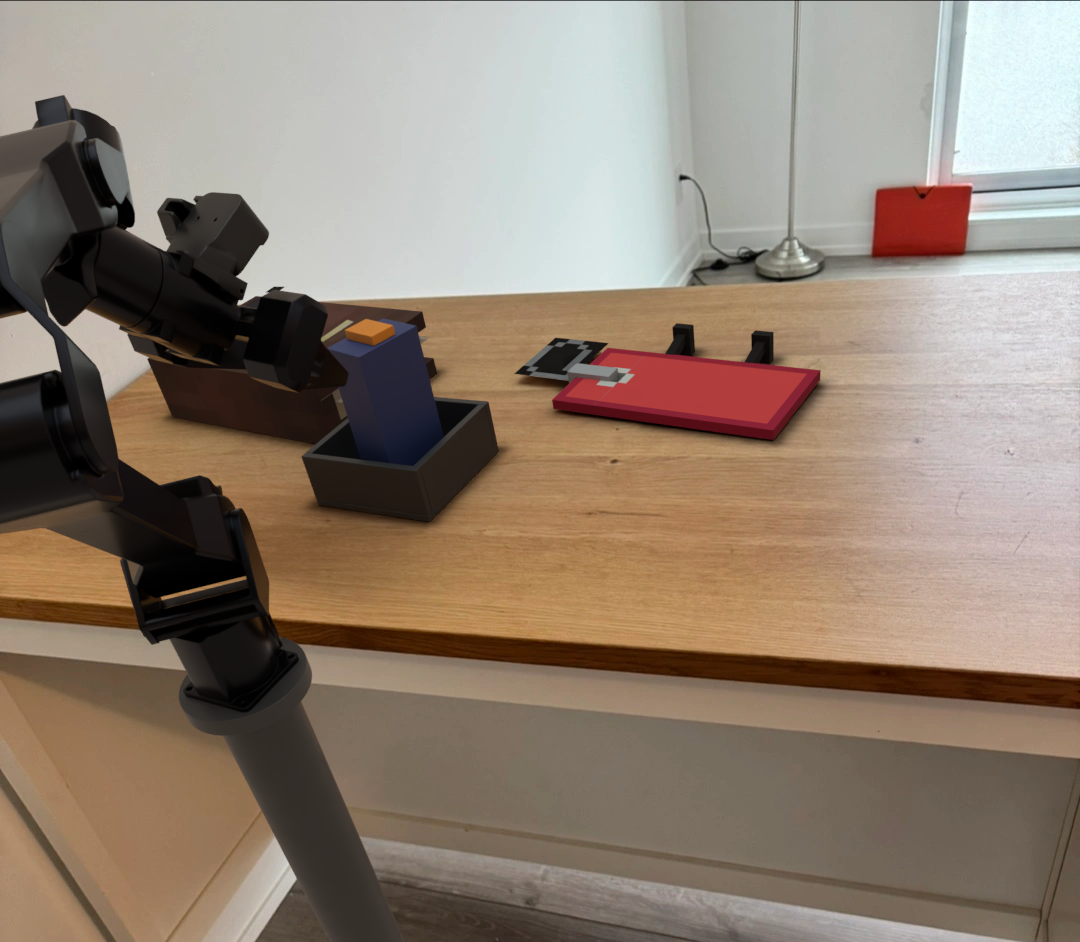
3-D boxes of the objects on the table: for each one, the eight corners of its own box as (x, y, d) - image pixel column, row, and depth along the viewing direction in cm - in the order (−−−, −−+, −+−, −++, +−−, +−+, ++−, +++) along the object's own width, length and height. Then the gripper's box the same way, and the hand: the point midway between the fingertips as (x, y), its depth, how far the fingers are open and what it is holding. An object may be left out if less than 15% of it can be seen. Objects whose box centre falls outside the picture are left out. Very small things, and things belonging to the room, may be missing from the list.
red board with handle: (565, 338, 111) (491, 403, 103) (561, 312, 109) (485, 377, 101) (834, 366, 97) (773, 444, 88) (835, 337, 95) (773, 415, 87)
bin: (429, 522, 88) (415, 470, 84) (318, 505, 93) (300, 456, 90) (499, 451, 95) (488, 401, 92) (392, 439, 101) (378, 391, 97)
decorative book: (322, 383, 94) (121, 354, 109) (346, 457, 99) (150, 419, 114) (445, 300, 105) (246, 283, 120) (460, 370, 110) (268, 345, 125)
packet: (399, 498, 90) (355, 347, 81) (368, 486, 93) (322, 338, 84) (450, 464, 93) (414, 316, 84) (419, 454, 96) (380, 308, 87)
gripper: (258, 169, 62) (420, 282, 75) (93, 161, 72) (262, 262, 85) (208, 348, 64) (376, 428, 77) (52, 315, 74) (224, 391, 87)
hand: (307, 371), depth 81 cm, fingers open, 9 cm apart
